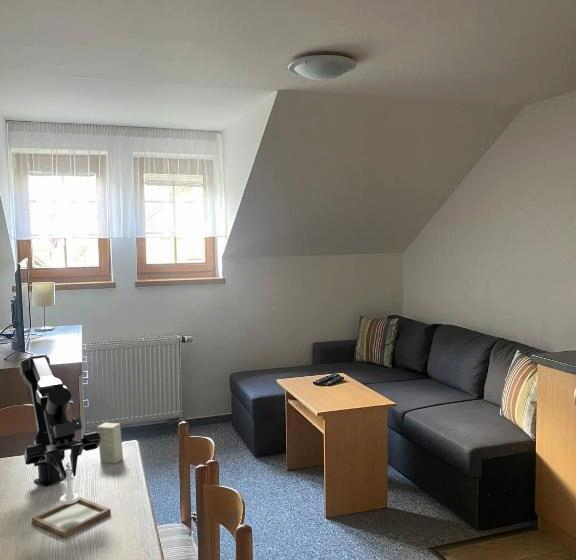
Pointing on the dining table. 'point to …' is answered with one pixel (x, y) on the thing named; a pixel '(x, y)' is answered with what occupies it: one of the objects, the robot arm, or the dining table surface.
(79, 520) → the walnut tray
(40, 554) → the dining table surface
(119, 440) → the skincare box
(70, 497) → the chess piece
